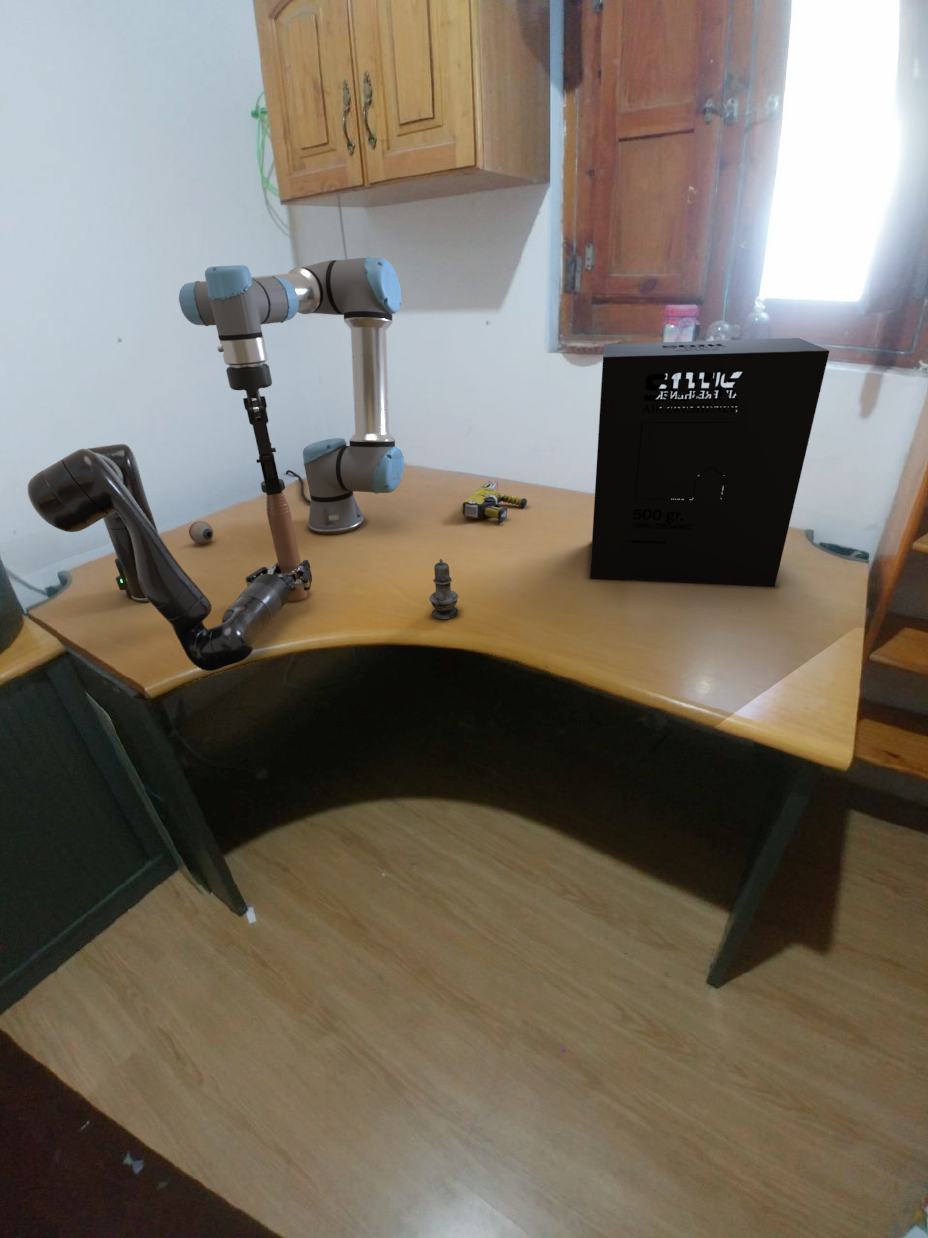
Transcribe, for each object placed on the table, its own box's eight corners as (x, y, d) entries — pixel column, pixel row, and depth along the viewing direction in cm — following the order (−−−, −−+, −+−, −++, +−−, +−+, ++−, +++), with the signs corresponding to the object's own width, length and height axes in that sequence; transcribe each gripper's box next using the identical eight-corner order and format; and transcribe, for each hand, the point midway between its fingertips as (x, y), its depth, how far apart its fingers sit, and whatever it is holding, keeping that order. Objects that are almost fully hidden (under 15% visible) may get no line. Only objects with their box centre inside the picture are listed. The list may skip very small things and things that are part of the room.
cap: (275, 484, 123) (273, 477, 122) (290, 488, 121) (288, 480, 120) (257, 491, 120) (255, 483, 119) (272, 494, 118) (270, 486, 117)
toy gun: (534, 486, 180) (487, 479, 184) (513, 510, 160) (461, 501, 164) (533, 501, 182) (486, 494, 186) (512, 527, 162) (460, 518, 166)
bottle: (309, 598, 131) (286, 485, 119) (287, 603, 130) (262, 489, 117) (305, 590, 135) (282, 479, 123) (284, 594, 134) (259, 483, 121)
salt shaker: (456, 620, 119) (452, 565, 113) (427, 618, 121) (422, 564, 115) (462, 606, 124) (458, 552, 118) (434, 604, 126) (429, 551, 120)
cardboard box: (755, 547, 142) (798, 337, 120) (774, 586, 125) (829, 350, 102) (592, 542, 150) (603, 344, 127) (589, 578, 133) (603, 356, 110)
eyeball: (202, 548, 159) (196, 527, 156) (187, 544, 162) (181, 523, 159) (221, 540, 163) (215, 519, 160) (206, 537, 166) (200, 516, 163)
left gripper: (293, 584, 114) (324, 548, 129) (223, 582, 116) (261, 547, 131) (300, 618, 118) (329, 579, 132) (232, 616, 120) (268, 578, 135)
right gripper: (225, 361, 115) (253, 480, 127) (224, 372, 101) (255, 506, 112) (266, 357, 117) (289, 475, 129) (270, 367, 103) (296, 500, 114)
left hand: (295, 563), depth 131 cm, fingers closed on bottle, 4 cm apart
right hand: (273, 489), depth 120 cm, fingers closed on cap, 4 cm apart
